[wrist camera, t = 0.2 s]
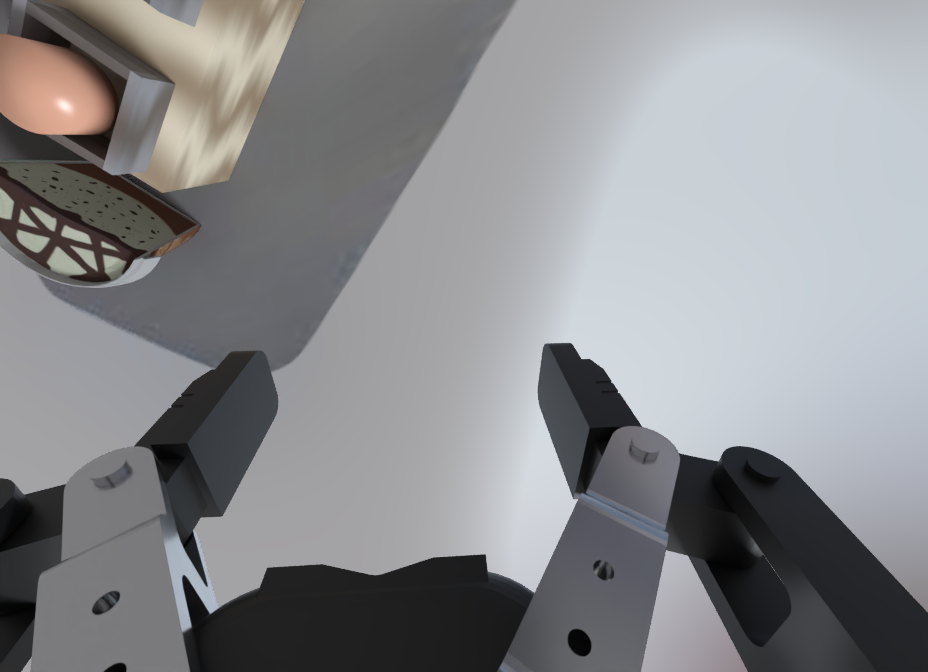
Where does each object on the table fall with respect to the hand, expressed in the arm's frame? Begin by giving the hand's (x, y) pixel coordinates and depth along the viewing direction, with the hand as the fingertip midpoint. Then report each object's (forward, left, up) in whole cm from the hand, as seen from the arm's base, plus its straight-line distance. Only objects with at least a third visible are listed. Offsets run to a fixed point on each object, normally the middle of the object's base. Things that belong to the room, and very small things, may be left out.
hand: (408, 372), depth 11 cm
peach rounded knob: (-6, -22, -18) cm, 29 cm away
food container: (+4, -29, -29) cm, 41 cm away
